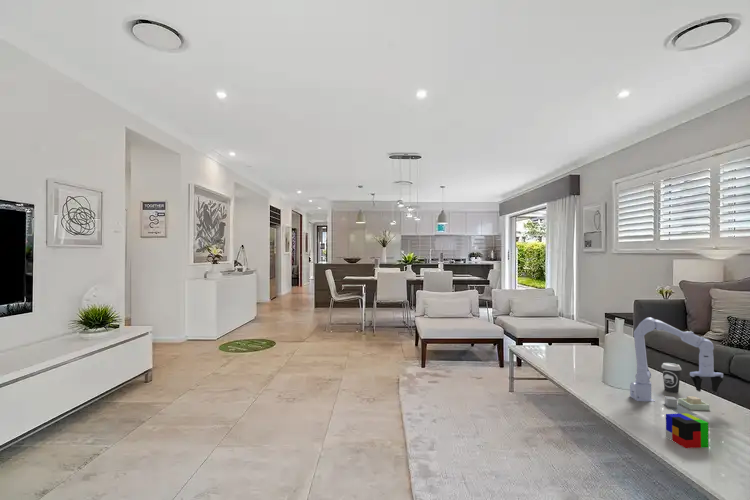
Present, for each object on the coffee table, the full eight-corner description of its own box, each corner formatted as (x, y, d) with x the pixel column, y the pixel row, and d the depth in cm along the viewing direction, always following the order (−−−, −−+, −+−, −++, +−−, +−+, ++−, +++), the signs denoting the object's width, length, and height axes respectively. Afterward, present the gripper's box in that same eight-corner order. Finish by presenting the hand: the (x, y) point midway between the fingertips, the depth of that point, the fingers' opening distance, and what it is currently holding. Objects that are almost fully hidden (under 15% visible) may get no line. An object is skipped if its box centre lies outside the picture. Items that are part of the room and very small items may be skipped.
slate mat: (679, 415, 200) (679, 414, 200) (662, 404, 214) (662, 404, 214) (697, 415, 200) (697, 415, 200) (678, 405, 214) (678, 404, 214)
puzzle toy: (666, 437, 176) (665, 414, 176) (687, 436, 177) (687, 413, 177) (685, 448, 166) (685, 423, 166) (708, 447, 167) (708, 422, 167)
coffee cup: (685, 394, 231) (685, 367, 231) (666, 392, 233) (666, 366, 233) (676, 388, 240) (676, 362, 241) (658, 387, 242) (658, 362, 242)
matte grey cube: (667, 406, 211) (667, 398, 211) (664, 403, 215) (664, 396, 215) (677, 407, 209) (677, 399, 209) (674, 404, 213) (674, 397, 213)
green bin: (690, 410, 207) (690, 404, 207) (678, 403, 216) (678, 398, 216) (709, 410, 206) (709, 405, 206) (696, 404, 215) (696, 398, 215)
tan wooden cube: (692, 408, 209) (692, 399, 209) (686, 405, 213) (686, 396, 213) (701, 408, 209) (701, 399, 209) (695, 405, 213) (694, 396, 213)
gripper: (696, 365, 203) (696, 393, 203) (727, 366, 202) (728, 394, 201) (686, 362, 210) (687, 388, 210) (717, 362, 209) (717, 389, 208)
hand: (706, 391), depth 206 cm, fingers open, 7 cm apart
